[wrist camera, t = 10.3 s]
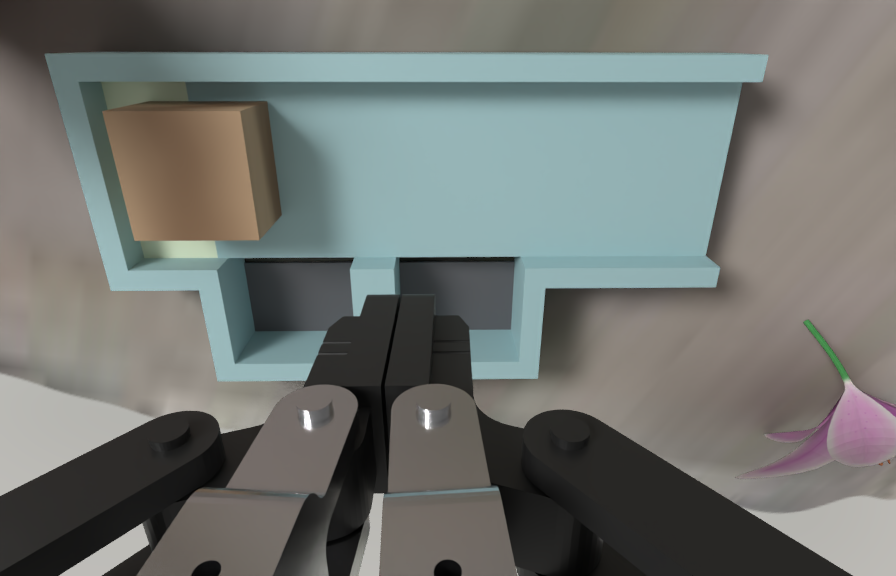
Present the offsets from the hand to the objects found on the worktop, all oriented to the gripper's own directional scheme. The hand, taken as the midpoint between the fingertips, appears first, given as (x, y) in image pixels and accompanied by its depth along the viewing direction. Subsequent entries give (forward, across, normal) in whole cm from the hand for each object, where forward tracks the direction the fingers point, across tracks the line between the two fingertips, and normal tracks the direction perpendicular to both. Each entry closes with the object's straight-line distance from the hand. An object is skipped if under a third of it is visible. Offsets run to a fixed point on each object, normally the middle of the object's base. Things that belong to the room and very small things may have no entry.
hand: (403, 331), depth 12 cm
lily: (+17, -22, +13) cm, 30 cm away
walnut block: (+14, +9, -1) cm, 16 cm away
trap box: (+16, +1, +2) cm, 16 cm away
